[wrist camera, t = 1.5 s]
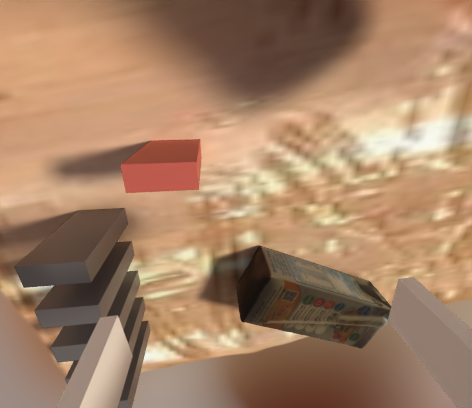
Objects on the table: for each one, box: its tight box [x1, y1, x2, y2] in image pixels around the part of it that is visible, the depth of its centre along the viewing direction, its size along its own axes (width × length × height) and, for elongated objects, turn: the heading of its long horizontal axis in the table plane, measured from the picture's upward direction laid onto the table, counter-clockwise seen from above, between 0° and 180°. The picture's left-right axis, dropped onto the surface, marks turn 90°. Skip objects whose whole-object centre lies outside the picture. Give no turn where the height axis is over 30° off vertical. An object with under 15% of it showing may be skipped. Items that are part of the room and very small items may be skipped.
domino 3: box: [51, 271, 140, 362], centre depth 27 cm, size 2×5×10 cm, turn 91°
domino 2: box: [34, 241, 134, 328], centre depth 25 cm, size 2×5×10 cm, turn 91°
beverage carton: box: [236, 246, 391, 348], centre depth 33 cm, size 8×19×7 cm, turn 66°
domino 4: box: [65, 297, 146, 384], centre depth 29 cm, size 2×5×10 cm, turn 91°
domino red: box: [121, 139, 201, 193], centre depth 22 cm, size 2×5×10 cm, turn 90°
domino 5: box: [118, 321, 150, 408], centre depth 31 cm, size 2×5×10 cm, turn 91°
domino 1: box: [15, 208, 128, 288], centre depth 24 cm, size 2×5×10 cm, turn 91°
